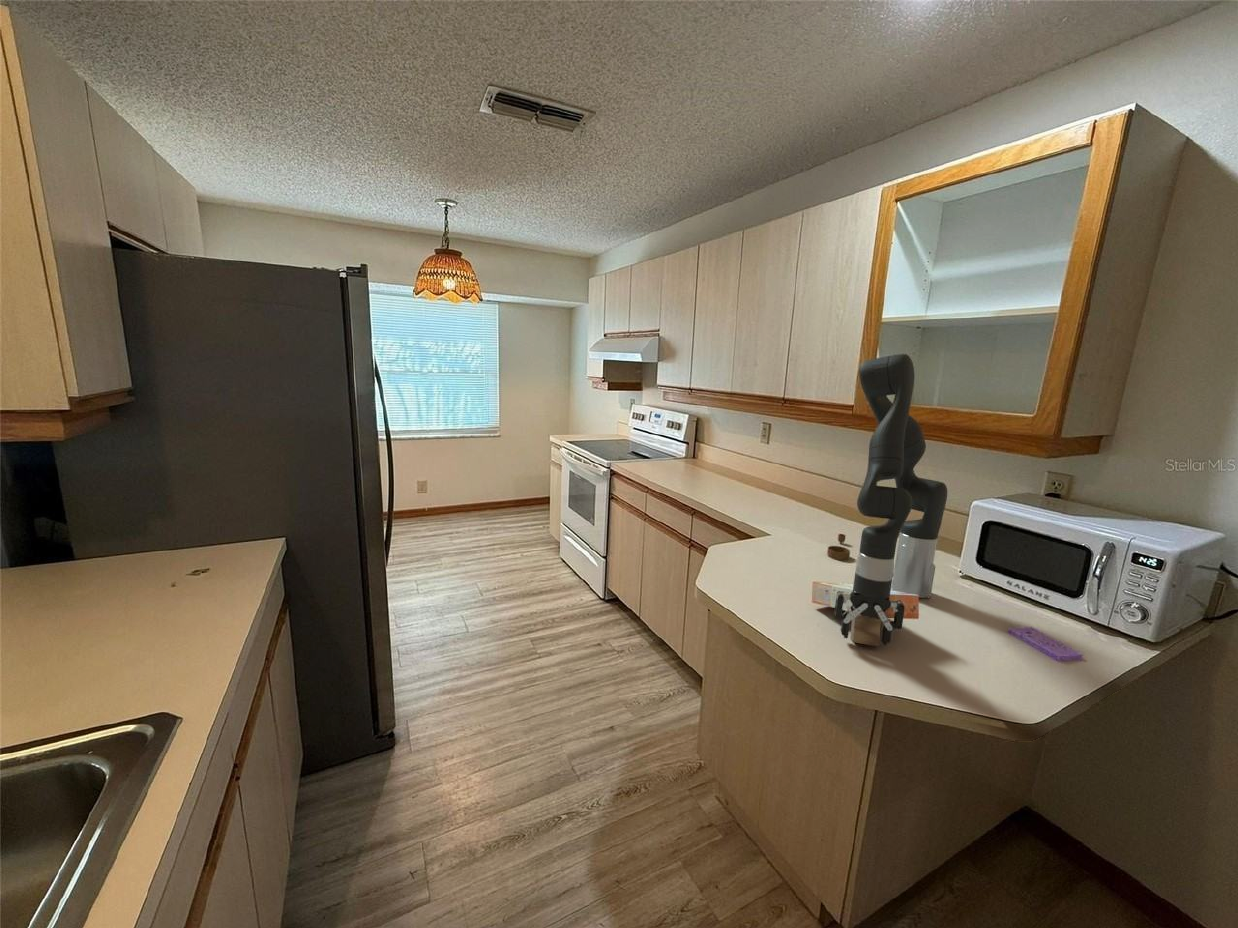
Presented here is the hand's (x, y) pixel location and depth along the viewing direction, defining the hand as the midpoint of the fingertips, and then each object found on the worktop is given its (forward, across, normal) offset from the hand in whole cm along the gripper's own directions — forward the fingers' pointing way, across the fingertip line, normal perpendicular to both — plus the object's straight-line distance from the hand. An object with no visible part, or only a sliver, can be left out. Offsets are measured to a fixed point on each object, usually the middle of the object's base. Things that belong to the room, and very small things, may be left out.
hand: (864, 639), depth 115 cm
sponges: (+2, -42, -16) cm, 45 cm away
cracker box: (-2, +5, -21) cm, 21 cm away
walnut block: (+1, 0, 0) cm, 1 cm away
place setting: (+2, -4, -61) cm, 61 cm away
